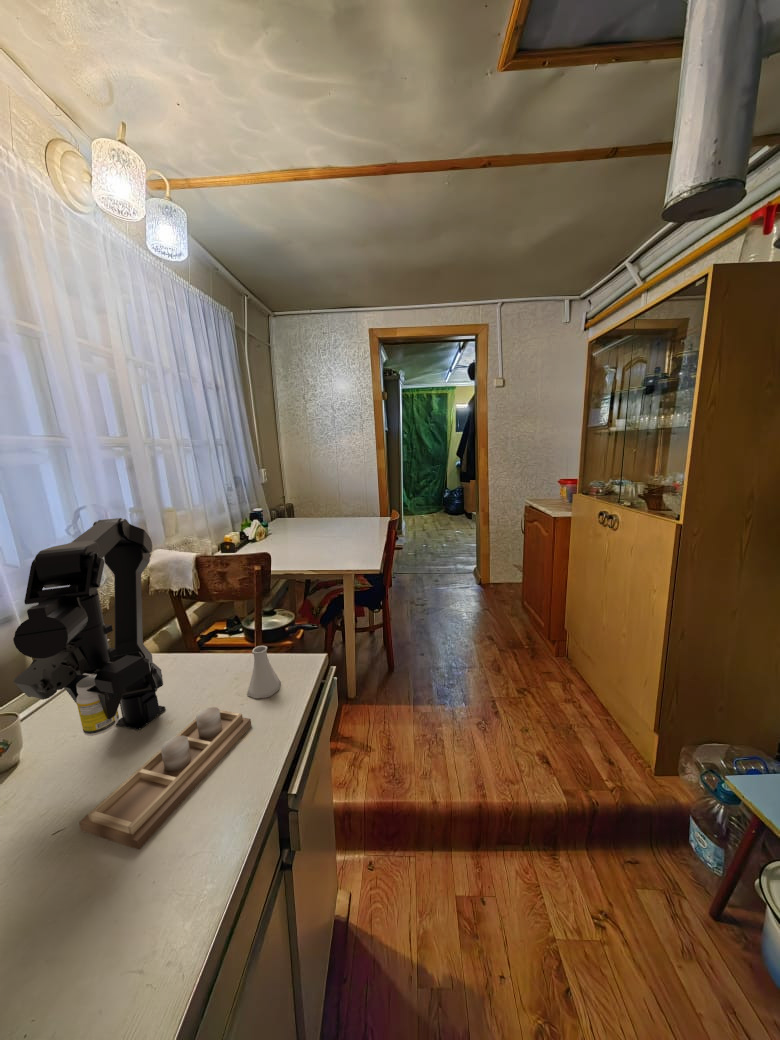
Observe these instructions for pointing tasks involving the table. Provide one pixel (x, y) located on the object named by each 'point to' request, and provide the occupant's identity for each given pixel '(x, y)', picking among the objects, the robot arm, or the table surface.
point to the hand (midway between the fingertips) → (99, 715)
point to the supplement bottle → (92, 709)
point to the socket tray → (165, 779)
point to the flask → (262, 675)
